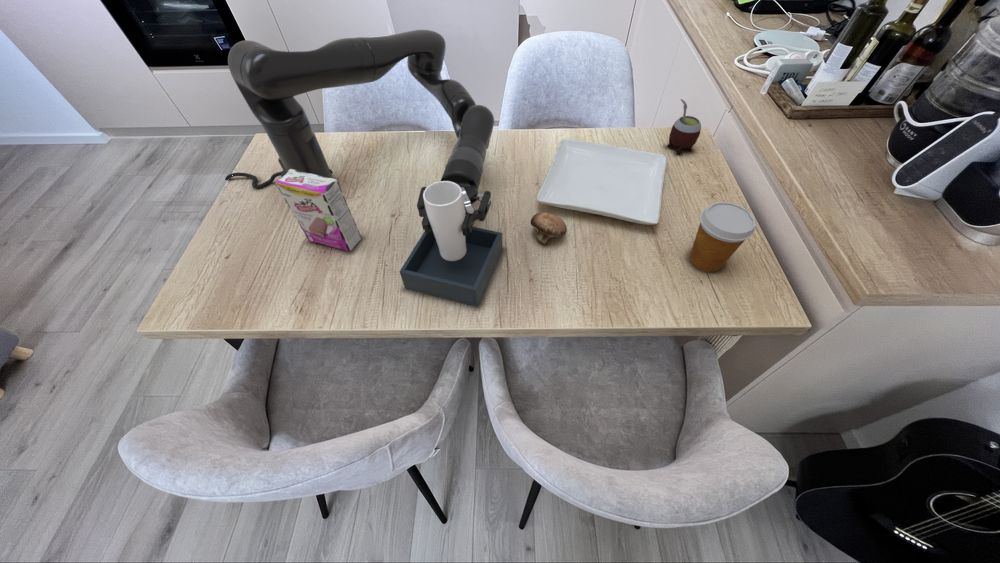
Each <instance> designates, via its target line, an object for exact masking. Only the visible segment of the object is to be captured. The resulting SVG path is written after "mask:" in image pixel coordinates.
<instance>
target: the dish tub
mask: <svg viewBox="0 0 1000 563" xmlns="http://www.w3.org/2000/svg"><path fill="white" fill-rule="evenodd" d="M466 248H467V251H466V254H465V256H464V257H463V258H461V259H460V260H457V261H447V260H445V259H443V258H442V257H441V255H440V252H439V248H438V245H437V242H436V239H435V236H434V233H433V231H432V228H431V230H430V233H425V230H423V233H422V234H421V236H420V237H419V240H417V243H416V244H415V246H414V247H413V249H412V250H411V251H410V254H409V255H408V258H407V259H406V260H405V261H404V264H403V265H402V267H401V268H400V270H399V275H400V278H401V280H402V283H403V286H404V289H405V290H410V291H413V292H417V293H420V294H421V293H422V294H425V295H429V296H434V297H436V298H441V299H445V300H448V301H454V302H456V303H461V304H464V305H469V306H473V307H476V308H479V306H480V304H481V301H482V299H483V296H484V294H485V292H486V290H487V287H488V285H489V283H490V281H491V278H492V276H493V274H494V271H495V269H496V267H497V264H498V262H499V259H500V258H501V255H502V253H503V251H504V248H503V233H502V232H501V231H495V230H491V229H485V228H481V227H477V226H473V228H472V232H471V233H468V235H467V236H466Z"/></svg>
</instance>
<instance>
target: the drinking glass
mask: <svg viewBox="0 0 1000 563" xmlns="http://www.w3.org/2000/svg"><path fill="white" fill-rule="evenodd" d="M426 187H427V188H426V189H425V190H424V193H423V199H424V205H425V209H426V213H427V216H428V219H429V222H430V225H431V228H432V231H433V233H434V236H435V239H436V242H437V245H438V248H439V252H440V255H441V257H442V258H443V259H445V260H447V261H457V260H460V259H461V258H463V257H464V256H465V254H466V251H467V248H466V236H463V232H462V226H463V222H464V219H465V208H464V200H463V195H462V190H461V188H460V186H459V185H457V184H456V183H454V182H450V181H441V180H439V181H436V182H433V183H431V184H429V185H428V186H426Z"/></svg>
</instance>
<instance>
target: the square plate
mask: <svg viewBox="0 0 1000 563" xmlns="http://www.w3.org/2000/svg"><path fill="white" fill-rule="evenodd" d="M667 164H668V156H667V155H665V154H661V153H656V152H651V151H645V150H640V149H634V148H629V147H623V146H617V145H610V144H606V143H600V142H599V143H598V142H591V141H583V140H576V139H570V138H563V139H561V140H560V142H559V144H558V147H557V149H556V152H555V155H554V158H553V160H552V162H551V165H550V167H549V169H548V171H547V173H546V175H545V177H544V180H543V182H542V184H541V187H540V188H539V191H538V193H537V195H536V198H535V199H536V201H537V202H539V203H541V204H544V205H547V206H550V207H554V208H560V209H567V210H572V211H577V212H578V211H579V212H584V213H588V214H594V215H599V216H604V217H608V218H613V219H617V220H621V221H624V222H631V223H635V224H640V225H646V226H651V225H658V224H659V222H660V216H661V209H662V200H663V199H662V198H663V188H664V181H665V176H666V169H667Z"/></svg>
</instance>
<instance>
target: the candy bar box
mask: <svg viewBox="0 0 1000 563" xmlns="http://www.w3.org/2000/svg"><path fill="white" fill-rule="evenodd" d="M333 178H334V177H333ZM333 178H328V177H324V176H319V175H315V174H311V173H306V172H302V171H298V170H293V169H290V170H288V171H287V172H286V173H285V174H284V175H283V176H280V177H278V179H277V180H276V182H275V185H276V186H277V189H278V190H279V192H280V194H281V195H282V197H283V198H284V200H285V203H286V204H287V206H288V208H289V209H290V211H291V212H292V214H293V216H294V218H295V219H296V222H297V223H298V225H299V226H300V229H301V230H302V231H303V233H304V235H305V237H306V238H307V240H308V242H309V243H310V242H311V243H314V244H318V245H322V246H325V247H330V248H334V249H338V250H342V251H344V252H349V253H351V252H352V251H353V250H354V249H355V247H356V246H357V244H359V242H360V241H361V240H362V236H361V234H360V230H359V228H358V226H357V223H356V221H355V218H354V217H353V215H352V212H351V210H350V207H349V204H348V203H347V200H346V198H345V195H344V193H343V190H342V188H341V186H340V184H339V181H338V179H336V178H334V179H333Z"/></svg>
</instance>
